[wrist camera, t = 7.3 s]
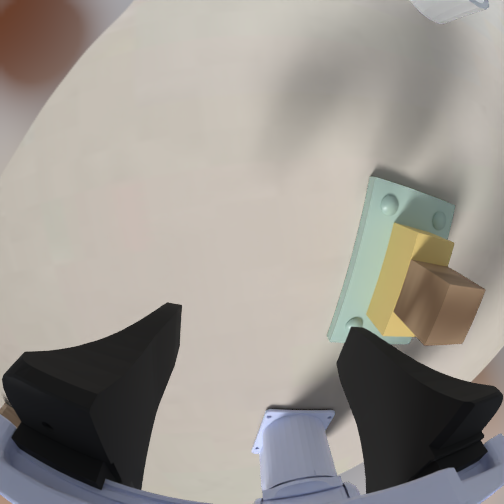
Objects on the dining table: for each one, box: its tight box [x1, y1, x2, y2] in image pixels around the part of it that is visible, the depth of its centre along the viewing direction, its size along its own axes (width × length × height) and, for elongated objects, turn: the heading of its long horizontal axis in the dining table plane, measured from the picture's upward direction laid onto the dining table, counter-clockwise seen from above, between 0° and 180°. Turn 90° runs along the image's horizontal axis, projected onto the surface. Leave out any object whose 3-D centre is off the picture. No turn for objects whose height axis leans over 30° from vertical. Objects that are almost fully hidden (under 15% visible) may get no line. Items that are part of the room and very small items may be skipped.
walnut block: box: [393, 260, 485, 346], centre depth 15 cm, size 4×4×4 cm
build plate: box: [327, 176, 455, 344], centre depth 21 cm, size 14×9×1 cm, turn 170°
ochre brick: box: [366, 223, 454, 337], centre depth 19 cm, size 8×4×4 cm, turn 170°
